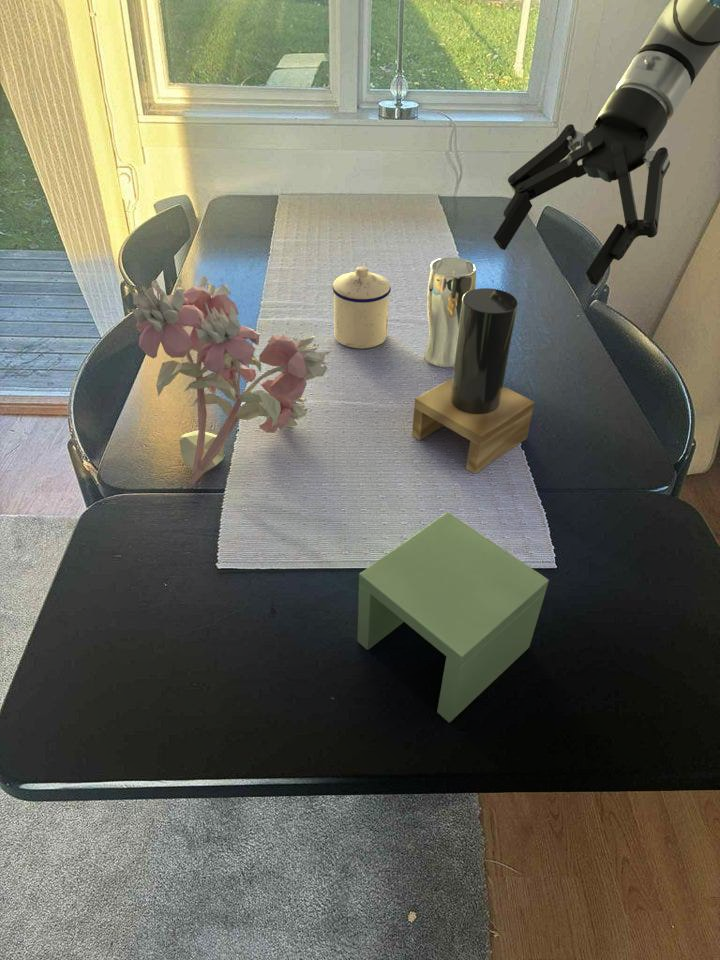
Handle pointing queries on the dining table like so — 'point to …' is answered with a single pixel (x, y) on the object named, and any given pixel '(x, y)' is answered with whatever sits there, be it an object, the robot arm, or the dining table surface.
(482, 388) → the dark grey cylinder
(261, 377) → the flower
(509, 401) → the low shelf
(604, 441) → the dining table surface
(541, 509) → the dining table surface
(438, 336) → the beer glass
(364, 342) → the teacup with lid
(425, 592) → the green step stool
